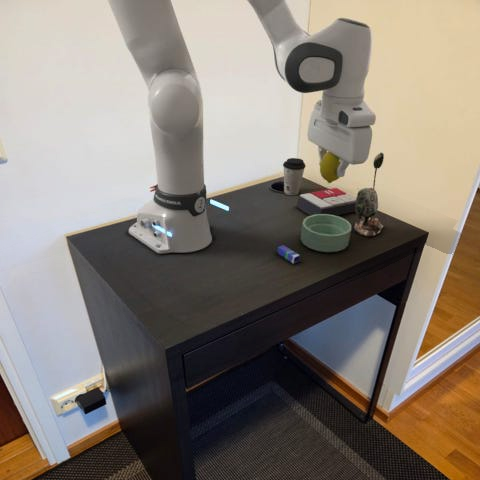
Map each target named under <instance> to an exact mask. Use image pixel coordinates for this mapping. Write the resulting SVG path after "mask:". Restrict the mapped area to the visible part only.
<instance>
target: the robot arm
mask: <svg viewBox="0 0 480 480" xmlns="http://www.w3.org/2000/svg"><path fill="white" fill-rule="evenodd" d="M246 1H247V2H248V4H250V6H251V7H252V9H253V11H254V12H255V15H256V16H257V18H258V20H259V22H260V23H261V25H262V27H263V29H264V31H265V33H266V35H267V37H268V39H269V40H270V43H271V45H272V49H273V58H274V65H275V69H276V71H277V73H278V75H279V77H280V79H282V80H283V81H284V82H286V83H287V85H288V86H289V87H290V88H291V89H292V90H294V91H296V92H298V93H301V94H309V93H317V92H322V93H321V99H319V100H317V102H316V103H314V106H313V110H312V111H311V113H310V116H309V122H308V125H307V132H306V133H307V134H306V136H307V140H308V141H309V142H311V143H313V144H314V145H316V146H318V147H317V152H318V158H319V161H318V162H319V163H318V166H320V164H321V161H322V158H323V156H324V155H325V154H326V153H327V152H330V153H332V154H334V155H336V156H337V157H339V158H340V160H339V162H340V165H339V167H338V168H336V169H335V175H336V176H338V177H340V178H344V177H345V175H346V170H347V168H348V167H349V166H350V165H354V166H355V165H362V164H364V163H365V162H367V160H368V158H369V155H370V151H371V145H372V140H373V129H372V127H371V126H374V125H375V124H376V121H377V116H376V114H375V112H373V110H372V109H371V108H370V107H369V105H368V104H367V102H366V101H364V99H365V82H366V78H367V76H368V73H369V69H370V65H371V57H372V49H373V32H372V29H371V28H370V26H369V25H368V24H366V23H364V22H361V21H357V20H354V19H350V18H346V17H339V18H336V19H335V20H334V21H333V22H332V23H331V24H329V25H328V26H326V27H325V28H324V29H322V30H319V31H317V32H315V33H313V34H309V33H308V32H306V31H305V30H303V29H302V28H301V27H300V25H299V24H298V23H297V21H296V18H295V16H294V13H293V12H292V11H291V10H292V9H291V8H290V6H289V4H288V1H287V0H246ZM107 2H108V4H109V6H110V9H111V12H112V14H113V16H114V19H115V21H116V24H117V26H118V28H119V31H120V34H121V36H122V38H123V40H124V44H125V45H126V48H127V50H128V51H129V53H130V54H131V56H132V59H133V60H134V62H135V64H136V66H137V68H138V70H139V72H140V75H141V77H142V78H143V81H144V83H145V85H146V87H147V91H148V95H147V108H148V116H149V124H150V125H149V126H150V132H151V139H152V145H153V151H154V160H155V161H154V162H155V172H156V181H157V183H156V184H155V185H152V186H150V187H149V189H150V190H149V192H150V193H152V192H154V194H153V198H151V199H150V200H149V201H148V202H147V203H146V202H145V204H143V205H142V206H141V207H140V208H139V209H138V211H137V213H136V222H135V223H133V224H132V225H131V226H130V227H129V228H128V234H129V235H130V236H132V237H134V238H135V239H137V241H140V242H141V243H142V244H144V245H145V246H147V247H148V248H149V249H151V250H152V251H154V252H156V254H170V253H192V252H197V251H200V250H203V249H205V248H207V247H208V246H209V245H210V244H211V243H212V241H213V236H212V232H211V228H210V224H209V219H208V212H207V185H206V184H205V164H204V163H205V162H204V161H205V159H204V99H203V95H202V88H201V83H200V81H199V77H198V74H197V72H196V69H195V65H194V64H193V61H192V58H191V57H192V56H191V55H190V52H189V48H188V46H187V44H186V41H185V38H184V35H183V32H182V29H181V27H180V24H179V22H178V21H179V20H178V18H177V14H176V11H175V9H174V6H173V3H172V0H107ZM210 204H211V205H213V206H216V207H218V208H221V209H223V210H225V211H227V212H228V211H229V210H230V206H227V205H226V204H223V203H220V202H218V201H217V200H213V199H210Z"/></svg>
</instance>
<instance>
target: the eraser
mask: <svg viewBox="0 0 480 480" xmlns="http://www.w3.org/2000/svg"><path fill="white" fill-rule="evenodd" d="M277 254H278V255H279V256H281V257H282V258H284V259H285V260H286V261H289V262H290V263H291V264H293V265H294V264H296V263H299V262H300V260H301V259H300V258H301V255H300V254H299V253H298V252H295V251H293V250H292V249H290V248H289V247H287V246H286V245H284V244H282V245H279V246H277Z"/></svg>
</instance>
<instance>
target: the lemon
mask: <svg viewBox="0 0 480 480" xmlns="http://www.w3.org/2000/svg"><path fill="white" fill-rule="evenodd" d="M339 160H340V158H339V157H337V156H336V155H334V154H332V153H330V152H329V151H327V153H326V154H325V155H324V156H323V158H322V161H321V164H320V165H319V173H320V176H321V178H322V179H323V180H325V181H326V182H327V184H331V183H333V182H335V181H338V179H340V178H341V177H338V176H336V175H335V169H336V168H338V167H339V165H340V162H339Z"/></svg>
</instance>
